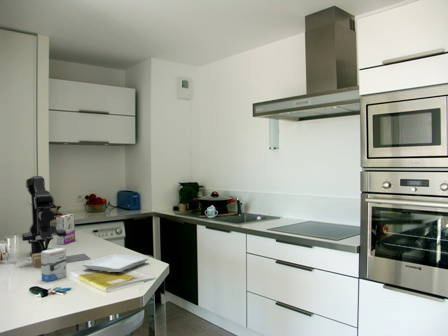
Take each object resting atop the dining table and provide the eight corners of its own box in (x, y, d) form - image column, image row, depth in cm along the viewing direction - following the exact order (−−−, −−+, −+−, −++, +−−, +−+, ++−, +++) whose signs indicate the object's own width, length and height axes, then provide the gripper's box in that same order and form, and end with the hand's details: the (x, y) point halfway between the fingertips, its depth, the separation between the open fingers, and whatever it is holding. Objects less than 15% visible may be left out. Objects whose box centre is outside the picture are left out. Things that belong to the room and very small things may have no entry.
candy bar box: (68, 240, 234) (67, 214, 234) (75, 240, 233) (74, 214, 233) (56, 244, 223) (55, 216, 223) (64, 245, 222) (63, 216, 222)
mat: (59, 257, 191) (59, 257, 191) (84, 254, 198) (84, 253, 198) (64, 263, 181) (64, 262, 181) (90, 259, 187) (90, 258, 187)
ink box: (48, 282, 152) (47, 252, 152) (41, 280, 155) (40, 251, 154) (67, 276, 159) (66, 248, 159) (60, 274, 162) (59, 247, 162)
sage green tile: (46, 252, 186) (46, 247, 186) (59, 250, 189) (59, 245, 189) (48, 256, 178) (48, 251, 178) (62, 254, 181) (62, 249, 181)
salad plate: (114, 259, 186) (114, 252, 186) (149, 264, 177) (149, 256, 177) (80, 271, 167) (80, 263, 167) (118, 277, 158) (118, 268, 158)
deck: (32, 262, 184) (31, 254, 184) (60, 258, 191) (60, 250, 191) (35, 267, 174) (34, 259, 174) (65, 263, 181) (65, 254, 181)
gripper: (23, 224, 169) (24, 259, 170) (67, 220, 179) (68, 253, 180) (21, 221, 179) (22, 254, 179) (63, 217, 189) (64, 248, 189)
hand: (44, 252), depth 181 cm, fingers closed
